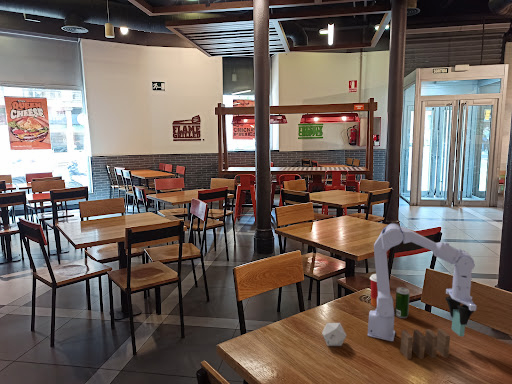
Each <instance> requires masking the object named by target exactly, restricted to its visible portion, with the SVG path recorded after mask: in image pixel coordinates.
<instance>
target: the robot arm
mask: <svg viewBox="0 0 512 384" xmlns="http://www.w3.org/2000/svg"><path fill="white" fill-rule="evenodd" d="M402 242H403V243H402ZM401 243H402V244H408V243H413V244H415V245H417V246H420V247H422V248H424V249H426V250H429V251H431V252H432V254H433V256H434V257H436V258H438V259H441V260H442V261H444V262H447V263H449V264H451V265H454V268H453V269H454V270H453V273H452V274H453V275H452V276H453V277H452V287H451V288H446V289H445V294H446V295H449V296H446V297H445V301H446V303H447V305H448V308H449V314H450V317H451V318H452V317H453V309H458V310H459V314H460V324H461V325H465V326H466V325H467V324H468V322H469V320H470V317H471V316H472V314H473V313H474V312H475V311H477V305H476V304H475V302H474V301H473V296H471V288H472V272H473V270H474V268H475V267H476V264H475V260H474V258H473V257H472V256H471V255H470V254H469V253H468V252H467V251H465V250H463V249H461V248H456V247H454V246H451V245H450V243H449V242H447V241H445V242H442V241H439V242H435V241H433V240H431V239H429V238H427V237H425V236H424V235H421V234H419V233H417V232H415V231H413V230H411V229H410V228H407V227H405V226H401V225H399V224H397V223H389V224H387V225H386V226H385V227H383V228H382V230H381V232H380V234H379V236H378V237H377V238H376V240H375V242H374V244H373V253H374V266H375V274H376V278H377V288H378V296H377V307H375V310H369V313H368V325H367V336H368V337H371V338H375V339H381V340H385V341H387V342H388V341H389V342H394V340H395V335H396V331H395V330H394V328H395V307H394V298H393V296H392V295H391V290H390V289H391V288H390V279H389V268H388V267H389V266H388V257H387V256H388V253H387V252H388V251H389V250H390V249H392V248H393V247H396V246H398V245H400V244H401Z"/></svg>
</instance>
